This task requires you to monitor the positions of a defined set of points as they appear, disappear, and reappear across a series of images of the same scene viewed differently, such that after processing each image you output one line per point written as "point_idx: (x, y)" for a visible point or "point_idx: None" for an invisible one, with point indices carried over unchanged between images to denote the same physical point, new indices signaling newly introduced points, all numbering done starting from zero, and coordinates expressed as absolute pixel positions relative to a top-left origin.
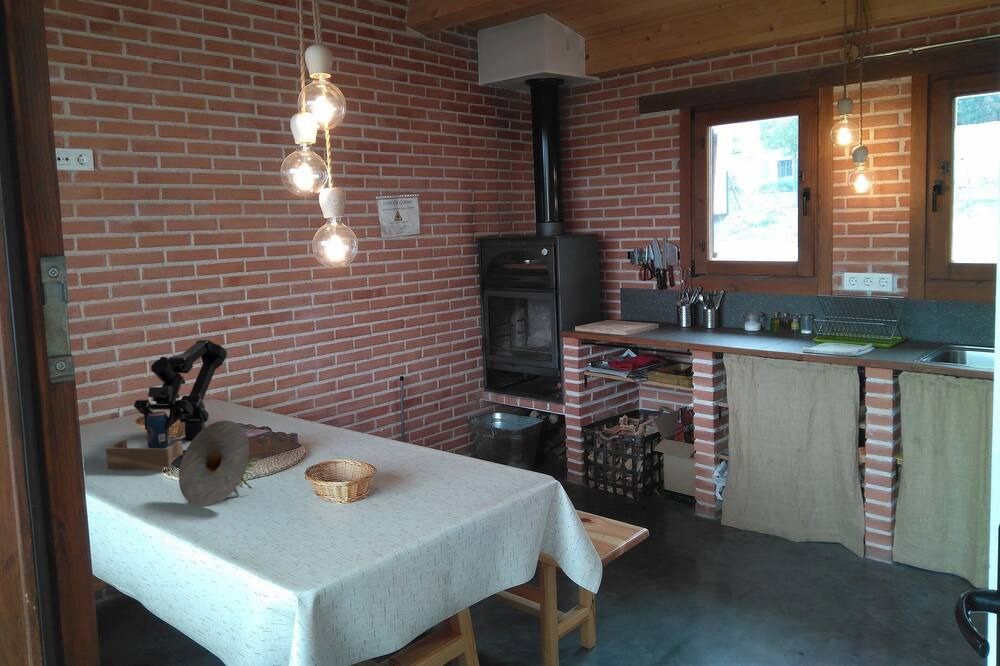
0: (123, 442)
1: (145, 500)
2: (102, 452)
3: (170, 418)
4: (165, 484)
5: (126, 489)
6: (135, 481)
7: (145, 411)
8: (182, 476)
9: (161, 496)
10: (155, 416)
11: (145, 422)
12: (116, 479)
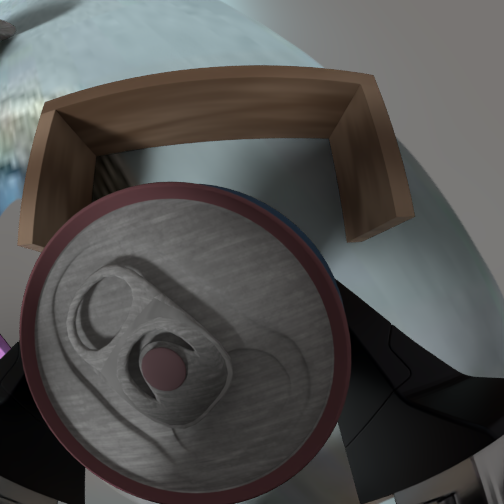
0: (387, 187)
1: (81, 10)
2: (488, 319)
3: (14, 347)
4: (62, 67)
5: (147, 20)
6: (152, 54)
7: (456, 390)
8: (2, 24)
9: (56, 29)
10: (102, 207)
11: (347, 296)
12: (227, 54)
